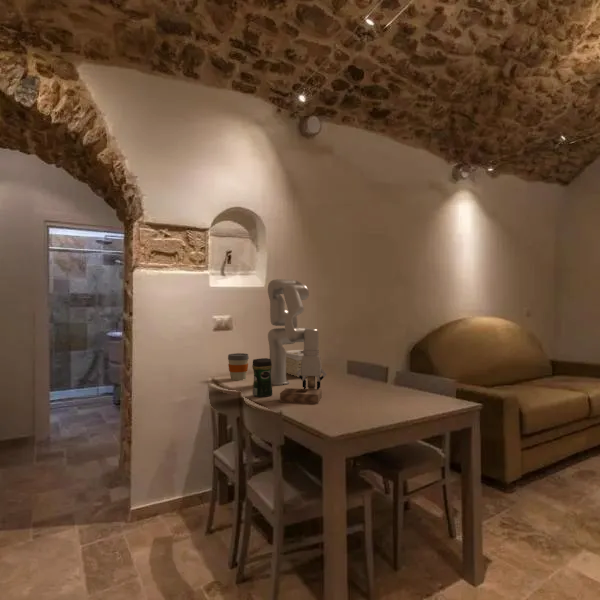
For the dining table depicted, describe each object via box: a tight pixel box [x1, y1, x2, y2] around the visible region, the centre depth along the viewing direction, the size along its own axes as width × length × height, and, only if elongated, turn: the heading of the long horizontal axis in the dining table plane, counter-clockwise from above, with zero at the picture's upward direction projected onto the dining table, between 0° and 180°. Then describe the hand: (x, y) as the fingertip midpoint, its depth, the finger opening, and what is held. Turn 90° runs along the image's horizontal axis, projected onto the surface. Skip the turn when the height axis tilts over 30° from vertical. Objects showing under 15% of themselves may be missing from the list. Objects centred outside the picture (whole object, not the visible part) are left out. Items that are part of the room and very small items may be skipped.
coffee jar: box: [251, 357, 273, 398], centre depth 216 cm, size 10×8×19 cm
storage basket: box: [285, 349, 304, 378], centre depth 278 cm, size 24×16×15 cm
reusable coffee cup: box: [227, 352, 250, 381], centre depth 262 cm, size 13×13×15 cm
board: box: [279, 387, 323, 404], centre depth 206 cm, size 18×12×4 cm, turn 79°
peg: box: [307, 376, 316, 389], centre depth 217 cm, size 4×4×10 cm
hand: (311, 388), depth 217 cm, fingers open, 6 cm apart
